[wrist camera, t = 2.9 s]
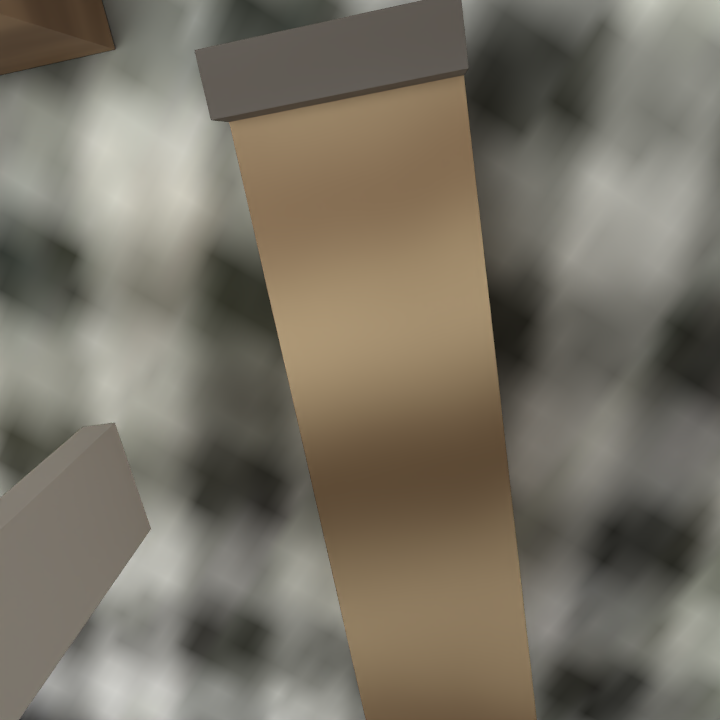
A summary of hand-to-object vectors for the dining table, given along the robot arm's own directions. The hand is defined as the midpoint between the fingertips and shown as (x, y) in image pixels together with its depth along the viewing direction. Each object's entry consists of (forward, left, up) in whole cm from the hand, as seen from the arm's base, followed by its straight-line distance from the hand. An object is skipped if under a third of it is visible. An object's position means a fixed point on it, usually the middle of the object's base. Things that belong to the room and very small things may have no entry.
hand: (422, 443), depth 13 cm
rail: (0, 0, -5) cm, 5 cm away
